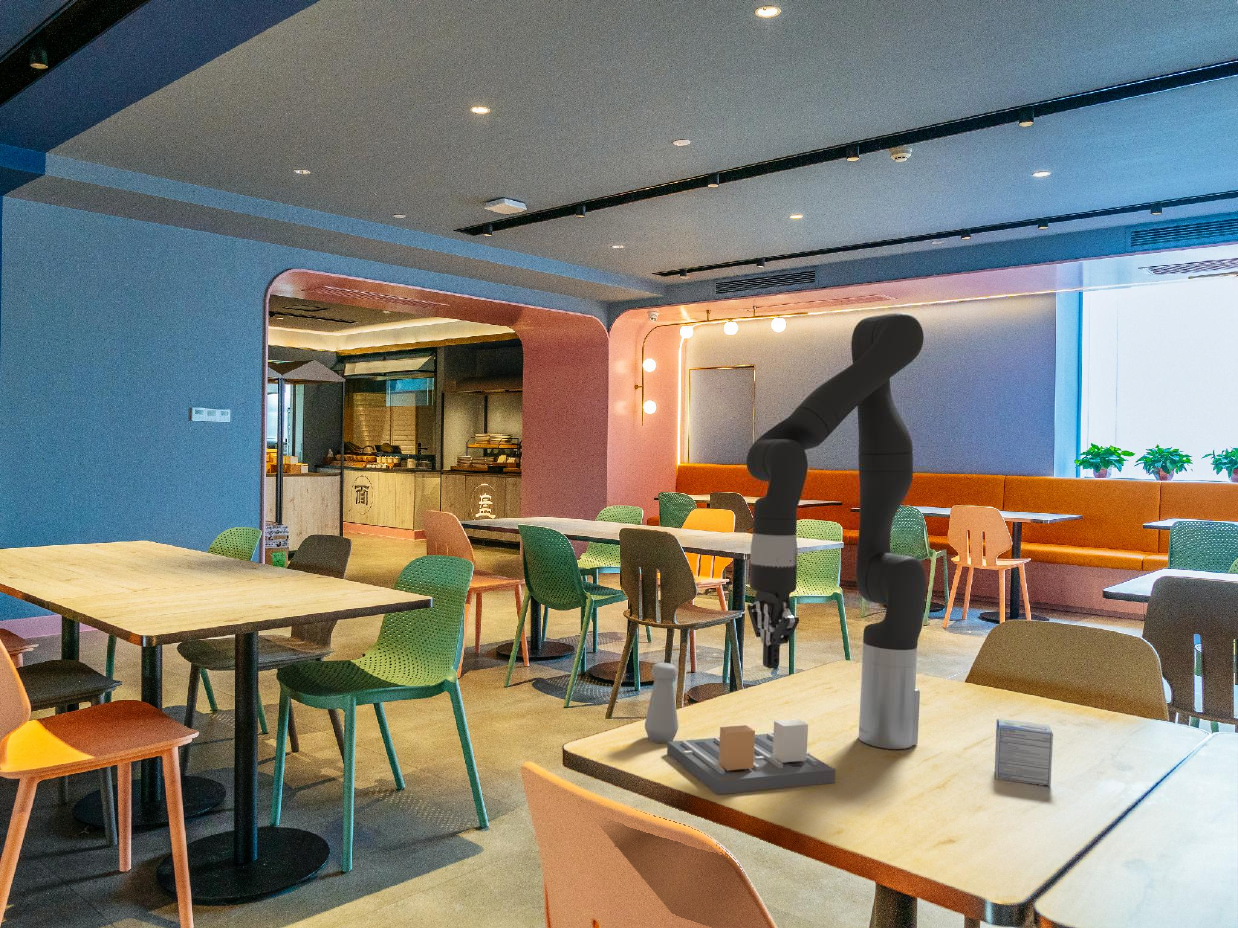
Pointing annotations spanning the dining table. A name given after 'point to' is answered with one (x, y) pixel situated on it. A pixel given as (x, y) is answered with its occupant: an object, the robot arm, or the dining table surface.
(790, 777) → the console
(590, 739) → the dining table surface
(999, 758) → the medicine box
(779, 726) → the fader
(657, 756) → the dining table surface
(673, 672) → the salt shaker
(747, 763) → the block
